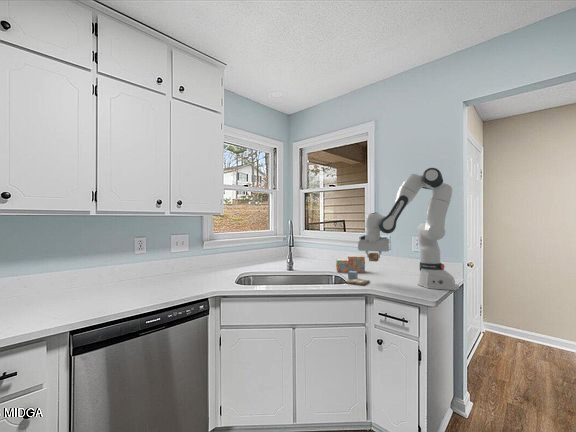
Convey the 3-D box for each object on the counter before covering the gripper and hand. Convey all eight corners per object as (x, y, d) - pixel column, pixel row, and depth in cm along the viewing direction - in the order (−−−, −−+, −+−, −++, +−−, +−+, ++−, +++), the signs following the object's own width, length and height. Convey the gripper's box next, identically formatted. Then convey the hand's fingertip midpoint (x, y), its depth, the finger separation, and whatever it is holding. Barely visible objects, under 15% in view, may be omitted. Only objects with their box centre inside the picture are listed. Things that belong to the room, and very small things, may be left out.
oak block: (378, 260, 198) (378, 253, 198) (376, 261, 194) (376, 253, 194) (371, 260, 200) (370, 252, 201) (368, 261, 196) (368, 253, 196)
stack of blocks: (336, 272, 229) (336, 256, 229) (336, 270, 236) (336, 255, 236) (365, 272, 228) (364, 256, 228) (363, 271, 234) (363, 255, 234)
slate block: (357, 278, 205) (357, 271, 205) (355, 280, 201) (355, 272, 201) (350, 277, 208) (350, 270, 208) (348, 279, 204) (348, 271, 204)
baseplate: (369, 282, 193) (369, 280, 193) (364, 285, 184) (364, 283, 184) (351, 280, 199) (351, 278, 199) (345, 283, 190) (345, 281, 190)
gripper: (390, 236, 195) (390, 258, 194) (359, 236, 205) (360, 256, 205) (388, 237, 189) (388, 259, 189) (356, 237, 200) (357, 257, 200)
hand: (373, 257), depth 197 cm, fingers closed on oak block, 5 cm apart
